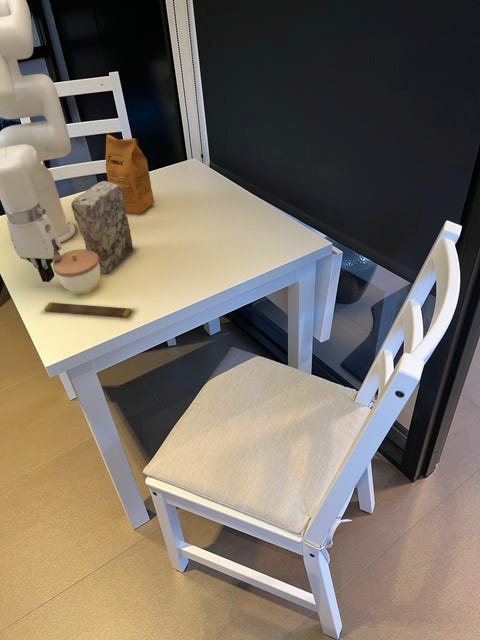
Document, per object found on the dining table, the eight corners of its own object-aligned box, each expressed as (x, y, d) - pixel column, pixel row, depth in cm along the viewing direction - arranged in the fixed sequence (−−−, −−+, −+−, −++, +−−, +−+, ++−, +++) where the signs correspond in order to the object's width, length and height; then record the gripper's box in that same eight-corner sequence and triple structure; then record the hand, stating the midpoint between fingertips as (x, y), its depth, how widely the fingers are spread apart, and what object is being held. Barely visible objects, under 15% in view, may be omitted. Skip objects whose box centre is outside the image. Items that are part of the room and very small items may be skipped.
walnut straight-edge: (45, 311, 123) (44, 308, 122) (50, 304, 125) (49, 302, 124) (128, 318, 118) (127, 315, 118) (132, 311, 120) (131, 308, 120)
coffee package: (130, 196, 168) (114, 128, 154) (159, 203, 163) (146, 133, 149) (108, 209, 162) (91, 139, 148) (138, 217, 156) (123, 145, 143)
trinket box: (94, 301, 124) (84, 268, 119) (54, 298, 127) (42, 266, 121) (112, 275, 132) (103, 244, 127) (73, 273, 135) (63, 242, 129)
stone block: (113, 275, 132) (93, 204, 120) (89, 272, 135) (68, 201, 122) (137, 249, 142) (121, 180, 129) (115, 246, 144) (97, 178, 131)
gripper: (61, 206, 119) (82, 272, 131) (4, 204, 122) (30, 269, 134) (45, 222, 114) (68, 290, 125) (-14, 219, 117) (14, 285, 128)
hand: (48, 279), depth 130 cm, fingers closed
